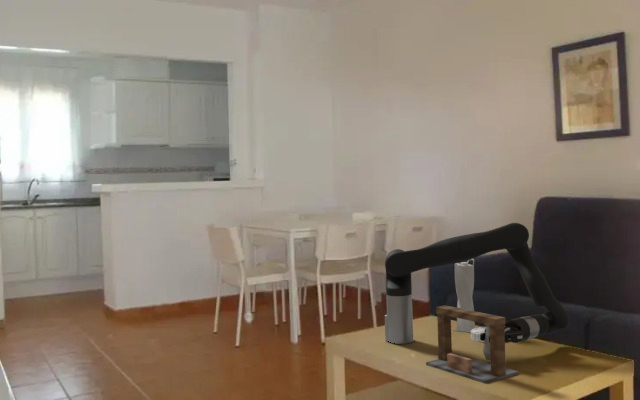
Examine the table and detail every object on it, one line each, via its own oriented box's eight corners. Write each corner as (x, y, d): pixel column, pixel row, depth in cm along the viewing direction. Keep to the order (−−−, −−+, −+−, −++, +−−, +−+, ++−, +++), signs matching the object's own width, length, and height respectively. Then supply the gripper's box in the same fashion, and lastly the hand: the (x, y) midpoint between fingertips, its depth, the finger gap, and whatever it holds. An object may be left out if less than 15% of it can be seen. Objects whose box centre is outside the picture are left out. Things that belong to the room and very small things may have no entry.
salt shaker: (502, 361, 210) (501, 320, 210) (483, 361, 211) (482, 320, 211) (501, 356, 216) (500, 316, 215) (483, 356, 217) (481, 316, 216)
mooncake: (466, 341, 243) (465, 331, 243) (477, 333, 253) (477, 324, 253) (498, 344, 236) (498, 334, 236) (509, 337, 246) (509, 327, 246)
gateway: (426, 364, 215) (424, 309, 214) (457, 356, 222) (456, 303, 222) (485, 383, 194) (484, 322, 193) (518, 373, 202) (516, 314, 201)
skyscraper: (480, 329, 260) (478, 257, 258) (473, 334, 253) (471, 260, 251) (459, 327, 264) (456, 256, 263) (452, 332, 257) (449, 259, 256)
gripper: (504, 314, 227) (468, 322, 217) (539, 321, 215) (502, 330, 206) (505, 336, 227) (469, 345, 218) (539, 344, 216) (503, 354, 206)
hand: (485, 338), depth 212 cm, fingers closed on salt shaker, 3 cm apart
